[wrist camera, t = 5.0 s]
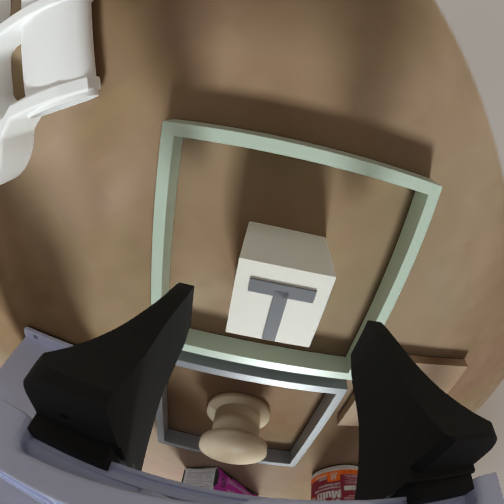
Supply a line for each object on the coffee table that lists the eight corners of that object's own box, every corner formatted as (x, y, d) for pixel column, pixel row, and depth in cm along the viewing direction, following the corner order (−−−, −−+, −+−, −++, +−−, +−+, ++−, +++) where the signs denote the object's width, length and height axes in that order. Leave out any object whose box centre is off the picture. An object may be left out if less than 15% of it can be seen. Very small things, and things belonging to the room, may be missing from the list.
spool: (205, 419, 25) (196, 457, 21) (211, 386, 23) (200, 429, 19) (262, 429, 25) (259, 468, 21) (276, 398, 23) (273, 441, 19)
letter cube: (236, 285, 18) (225, 333, 15) (249, 220, 16) (238, 258, 13) (305, 299, 18) (309, 348, 15) (325, 236, 16) (336, 278, 13)
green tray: (159, 327, 20) (151, 342, 19) (173, 118, 14) (162, 121, 13) (350, 364, 20) (353, 380, 19) (429, 178, 14) (442, 186, 13)
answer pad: (337, 417, 23) (337, 425, 23) (378, 351, 20) (380, 359, 19) (416, 420, 23) (417, 426, 23) (464, 359, 20) (468, 366, 19)
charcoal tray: (162, 429, 27) (158, 442, 25) (159, 338, 21) (152, 353, 19) (294, 454, 27) (293, 466, 25) (345, 373, 21) (347, 389, 19)
